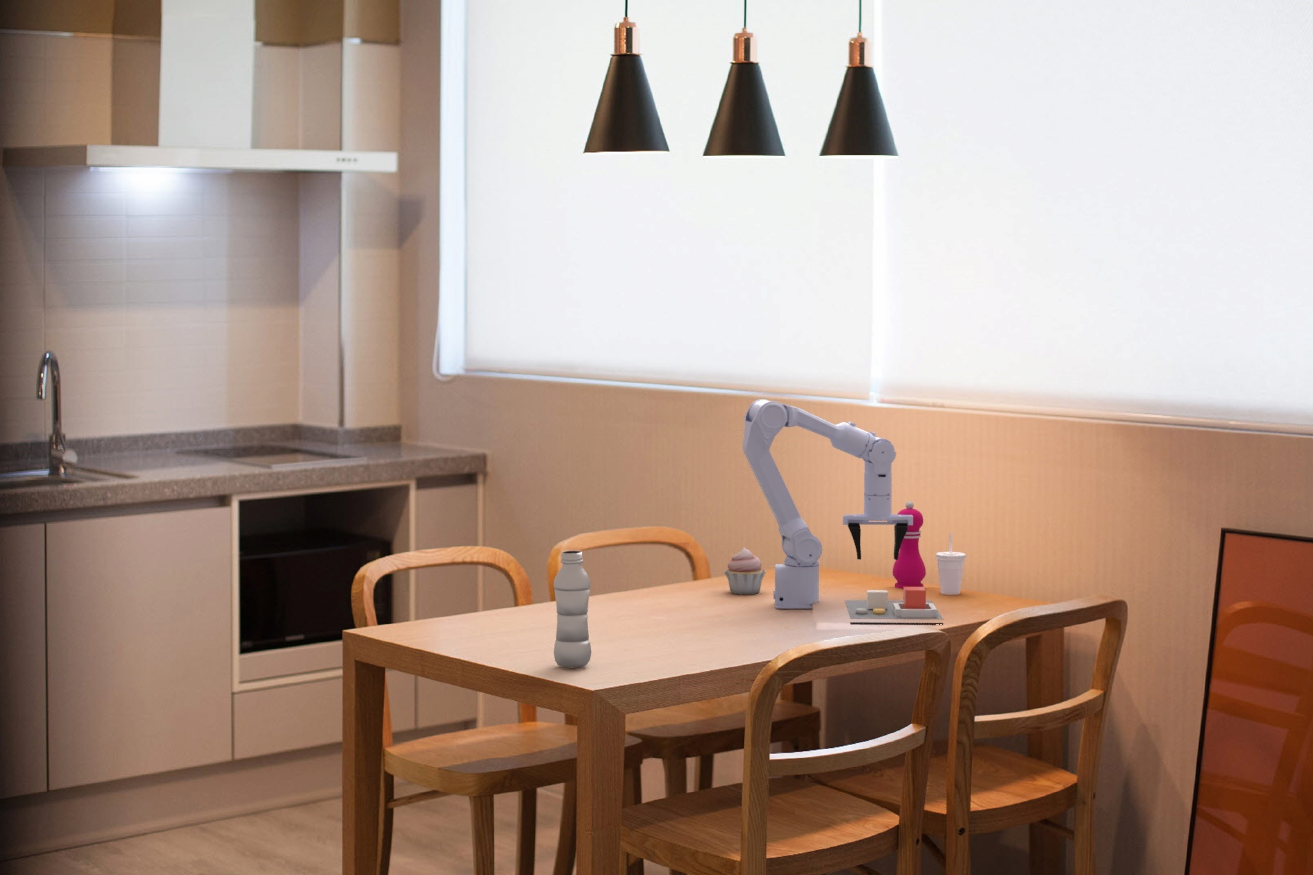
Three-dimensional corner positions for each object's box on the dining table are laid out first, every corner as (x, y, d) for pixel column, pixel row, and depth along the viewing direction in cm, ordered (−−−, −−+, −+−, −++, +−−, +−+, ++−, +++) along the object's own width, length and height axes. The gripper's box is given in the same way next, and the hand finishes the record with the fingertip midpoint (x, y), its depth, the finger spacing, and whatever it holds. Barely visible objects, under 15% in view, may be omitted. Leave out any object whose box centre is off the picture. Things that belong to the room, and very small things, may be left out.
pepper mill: (892, 588, 342) (892, 499, 341) (925, 589, 341) (925, 499, 340) (892, 594, 335) (893, 503, 334) (926, 595, 334) (926, 503, 333)
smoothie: (964, 596, 333) (964, 531, 332) (967, 601, 326) (967, 535, 325) (934, 595, 333) (934, 531, 332) (936, 601, 327) (936, 535, 326)
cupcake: (744, 587, 345) (744, 543, 344) (774, 592, 338) (774, 547, 338) (714, 592, 339) (714, 547, 338) (745, 597, 332) (745, 551, 331)
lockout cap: (905, 615, 305) (905, 590, 304) (903, 611, 309) (903, 586, 308) (925, 615, 305) (925, 590, 304) (923, 611, 308) (923, 586, 308)
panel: (850, 624, 302) (850, 610, 302) (844, 605, 322) (844, 593, 322) (943, 625, 301) (943, 611, 300) (931, 606, 321) (931, 593, 320)
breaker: (867, 608, 311) (867, 592, 310) (866, 606, 313) (866, 590, 313) (887, 609, 310) (887, 592, 310) (886, 606, 313) (886, 590, 313)
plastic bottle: (547, 669, 264) (546, 553, 262) (563, 661, 270) (562, 548, 269) (582, 672, 262) (580, 555, 260) (597, 664, 268) (596, 550, 266)
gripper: (844, 496, 320) (843, 561, 321) (914, 496, 319) (914, 561, 320) (842, 492, 327) (842, 556, 328) (911, 493, 326) (910, 556, 327)
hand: (877, 558), depth 324 cm, fingers open, 7 cm apart
